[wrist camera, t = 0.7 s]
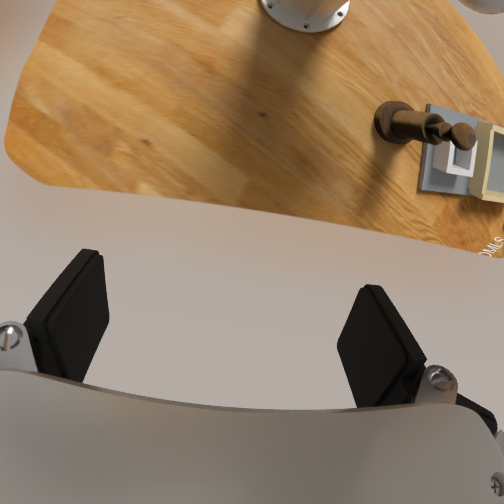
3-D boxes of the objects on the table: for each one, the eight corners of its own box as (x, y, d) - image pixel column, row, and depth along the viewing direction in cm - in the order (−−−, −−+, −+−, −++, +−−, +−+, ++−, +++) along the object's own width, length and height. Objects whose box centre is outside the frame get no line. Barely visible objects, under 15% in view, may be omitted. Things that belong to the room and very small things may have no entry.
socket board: (426, 103, 38) (445, 105, 33) (515, 133, 39) (533, 138, 34) (417, 187, 44) (434, 197, 39) (505, 199, 45) (522, 208, 40)
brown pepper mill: (407, 99, 37) (488, 106, 21) (414, 139, 40) (492, 165, 24) (370, 103, 38) (444, 109, 22) (378, 145, 41) (450, 174, 25)
